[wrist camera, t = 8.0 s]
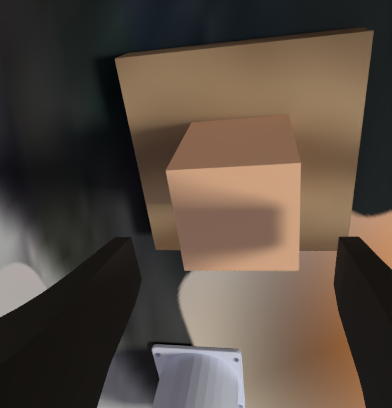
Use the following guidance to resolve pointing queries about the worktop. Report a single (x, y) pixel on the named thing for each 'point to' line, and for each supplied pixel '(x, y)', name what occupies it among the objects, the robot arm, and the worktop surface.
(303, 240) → the tan board
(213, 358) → the robot arm
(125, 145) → the worktop surface
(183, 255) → the terracotta block
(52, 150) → the worktop surface
